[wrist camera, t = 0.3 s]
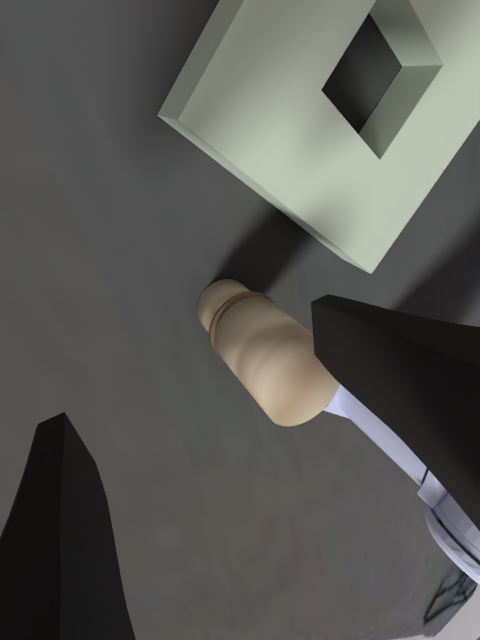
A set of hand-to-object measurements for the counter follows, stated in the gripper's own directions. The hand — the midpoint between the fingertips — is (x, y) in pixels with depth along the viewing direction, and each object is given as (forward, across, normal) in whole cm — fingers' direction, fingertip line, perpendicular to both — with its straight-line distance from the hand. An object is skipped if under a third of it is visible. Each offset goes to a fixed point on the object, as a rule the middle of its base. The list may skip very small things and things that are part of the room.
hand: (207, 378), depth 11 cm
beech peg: (+10, -4, +5) cm, 12 cm away
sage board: (+10, -13, -5) cm, 17 cm away
